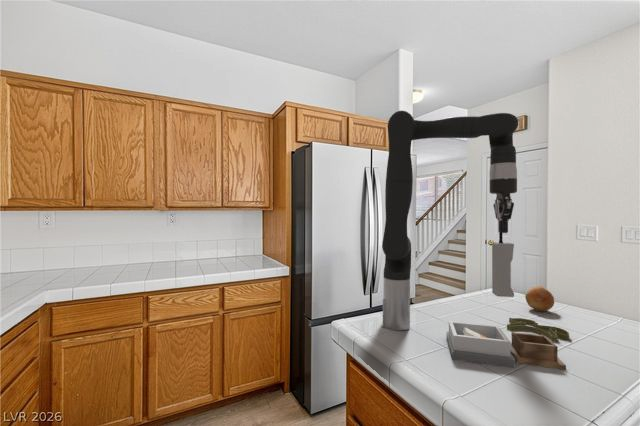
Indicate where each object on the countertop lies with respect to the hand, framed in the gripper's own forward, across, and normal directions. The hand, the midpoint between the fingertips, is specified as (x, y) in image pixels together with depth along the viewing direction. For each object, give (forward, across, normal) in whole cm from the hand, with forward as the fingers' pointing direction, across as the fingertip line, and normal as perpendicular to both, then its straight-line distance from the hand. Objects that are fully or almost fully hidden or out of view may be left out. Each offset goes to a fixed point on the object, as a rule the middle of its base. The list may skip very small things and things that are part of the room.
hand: (503, 232), depth 96 cm
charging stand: (+34, +10, +5) cm, 36 cm away
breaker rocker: (+30, +11, -10) cm, 34 cm away
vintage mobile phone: (+20, 0, 0) cm, 20 cm away
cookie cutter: (+35, -12, +13) cm, 39 cm away
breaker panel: (+34, +11, -10) cm, 37 cm away
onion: (+35, -37, +23) cm, 56 cm away
